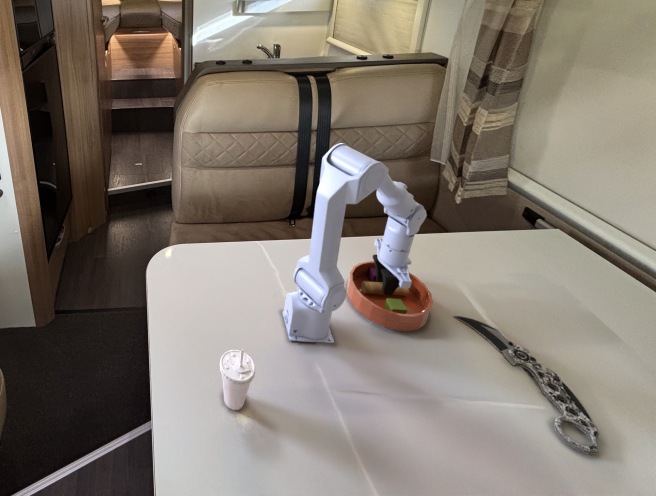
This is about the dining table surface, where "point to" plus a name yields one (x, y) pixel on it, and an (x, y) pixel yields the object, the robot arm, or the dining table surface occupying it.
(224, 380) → the smoothie
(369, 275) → the chunk
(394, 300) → the chunk
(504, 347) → the knife
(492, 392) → the dining table surface
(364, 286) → the stick
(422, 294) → the bowl
